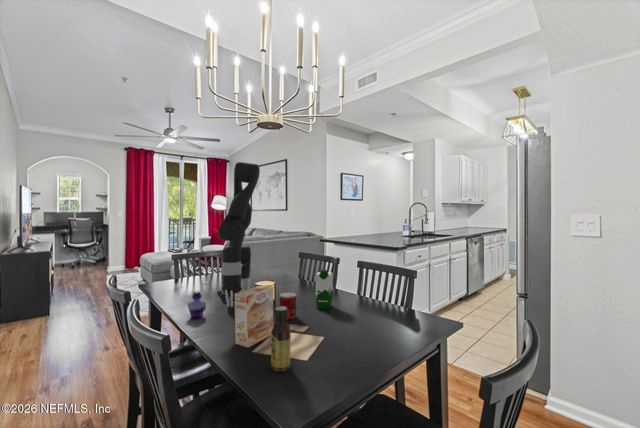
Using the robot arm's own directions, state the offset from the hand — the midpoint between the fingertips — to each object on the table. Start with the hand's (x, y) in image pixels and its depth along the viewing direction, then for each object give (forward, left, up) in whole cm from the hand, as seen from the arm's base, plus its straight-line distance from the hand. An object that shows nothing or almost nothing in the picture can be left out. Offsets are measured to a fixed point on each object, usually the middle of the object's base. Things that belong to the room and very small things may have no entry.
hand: (231, 315), depth 125 cm
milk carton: (+25, +47, -9) cm, 54 cm away
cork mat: (+26, 0, -9) cm, 27 cm away
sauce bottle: (+30, -17, -9) cm, 35 cm away
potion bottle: (-28, +13, -9) cm, 32 cm away
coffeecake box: (+11, 0, -9) cm, 14 cm away
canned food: (+13, +27, -9) cm, 31 cm away
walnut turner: (+17, +15, -9) cm, 24 cm away
